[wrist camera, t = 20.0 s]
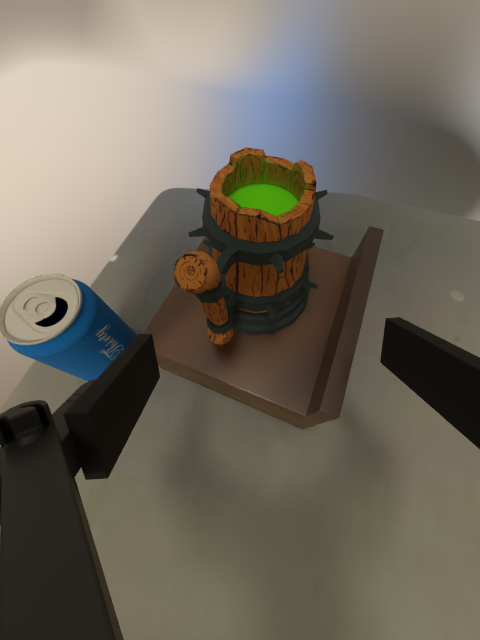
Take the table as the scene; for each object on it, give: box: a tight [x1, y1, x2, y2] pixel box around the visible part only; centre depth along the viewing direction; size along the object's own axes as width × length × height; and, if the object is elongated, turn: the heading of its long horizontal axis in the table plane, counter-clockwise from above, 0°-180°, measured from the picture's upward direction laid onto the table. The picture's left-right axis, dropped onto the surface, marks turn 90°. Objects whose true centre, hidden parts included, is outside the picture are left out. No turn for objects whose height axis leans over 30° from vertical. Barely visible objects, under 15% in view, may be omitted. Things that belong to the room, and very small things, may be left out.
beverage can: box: [0, 274, 138, 381], centre depth 23 cm, size 6×6×12 cm
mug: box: [173, 148, 333, 345], centre depth 18 cm, size 13×10×12 cm
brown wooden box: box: [144, 226, 384, 429], centre depth 25 cm, size 16×16×11 cm
